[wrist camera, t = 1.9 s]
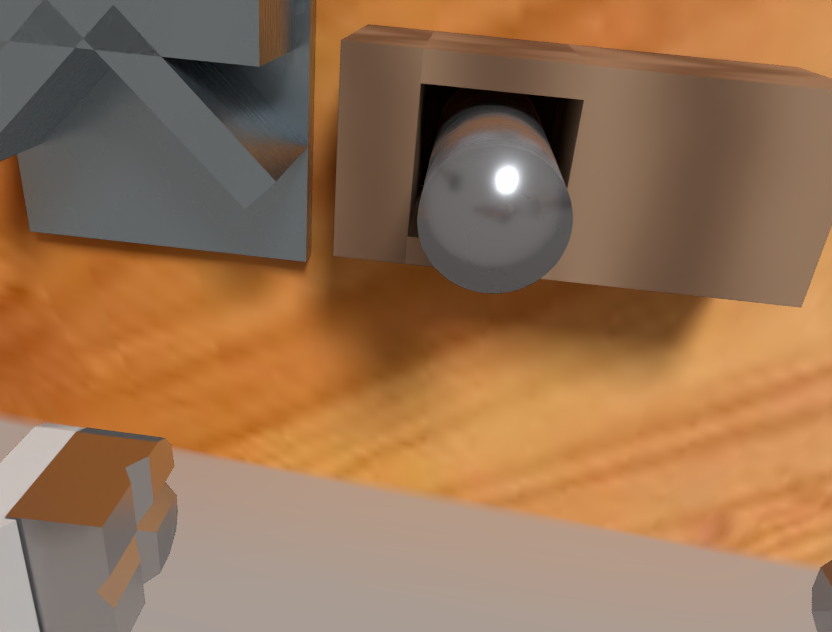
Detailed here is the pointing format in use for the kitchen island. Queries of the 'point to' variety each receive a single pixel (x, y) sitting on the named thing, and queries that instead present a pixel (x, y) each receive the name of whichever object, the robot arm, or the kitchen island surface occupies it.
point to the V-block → (163, 120)
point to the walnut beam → (608, 158)
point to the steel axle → (493, 194)
